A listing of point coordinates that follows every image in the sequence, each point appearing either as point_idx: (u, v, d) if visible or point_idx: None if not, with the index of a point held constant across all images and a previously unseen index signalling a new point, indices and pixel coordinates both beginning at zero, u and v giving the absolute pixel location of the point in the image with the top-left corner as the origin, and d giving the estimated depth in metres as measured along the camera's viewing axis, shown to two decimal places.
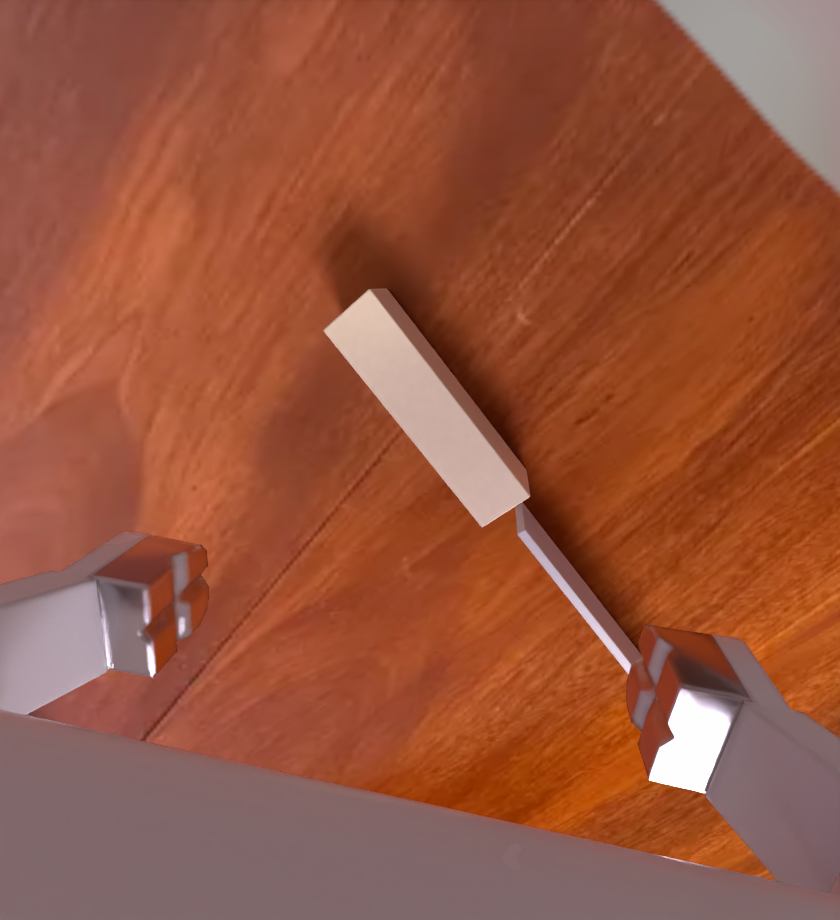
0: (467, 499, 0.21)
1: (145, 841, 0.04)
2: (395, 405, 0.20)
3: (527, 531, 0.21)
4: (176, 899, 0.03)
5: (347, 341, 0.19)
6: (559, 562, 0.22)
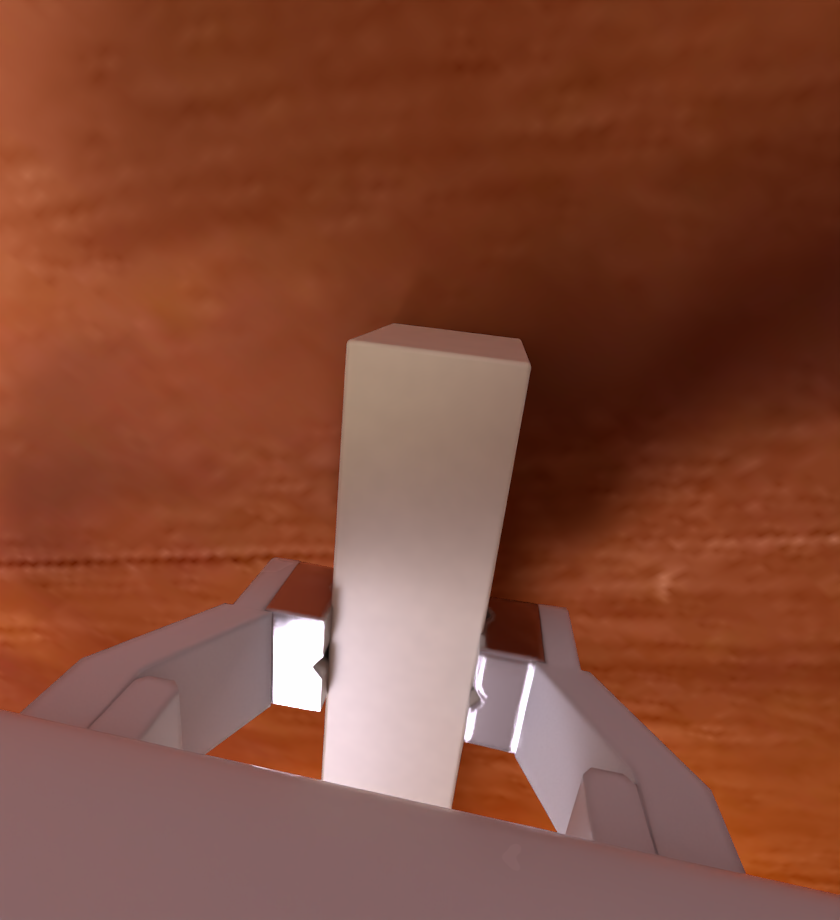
0: None
1: (145, 841, 0.04)
2: (355, 599, 0.08)
3: None
4: (176, 899, 0.03)
5: (377, 413, 0.07)
6: None
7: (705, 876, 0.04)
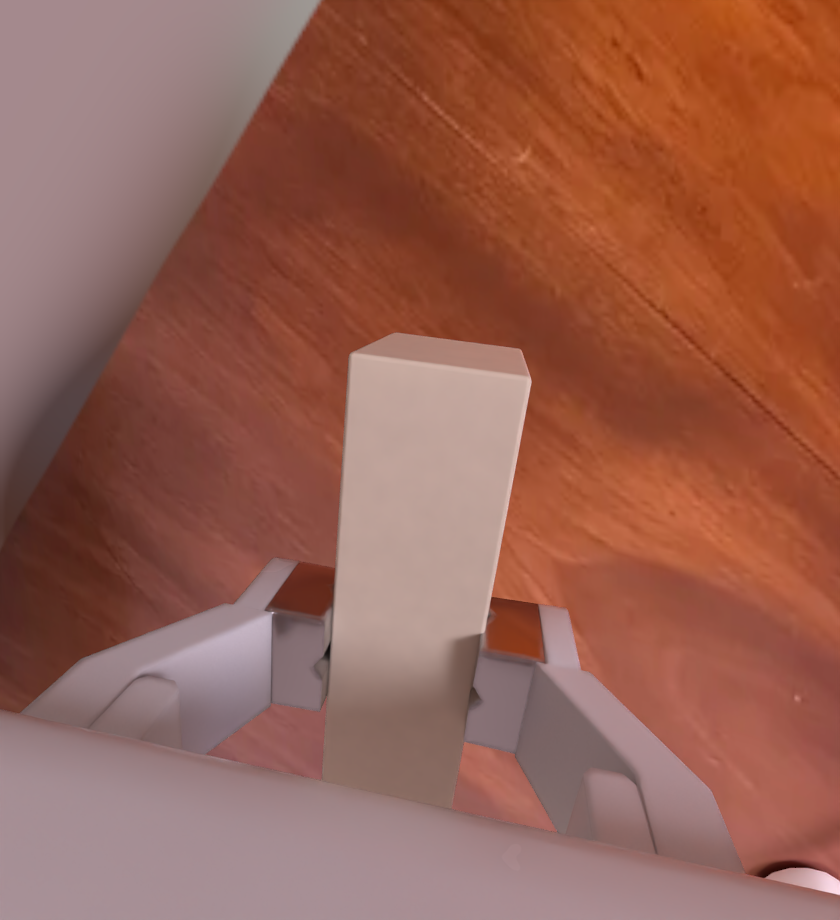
0: None
1: (145, 841, 0.04)
2: (356, 608, 0.08)
3: None
4: (176, 899, 0.03)
5: (378, 424, 0.07)
6: None
7: (705, 876, 0.04)
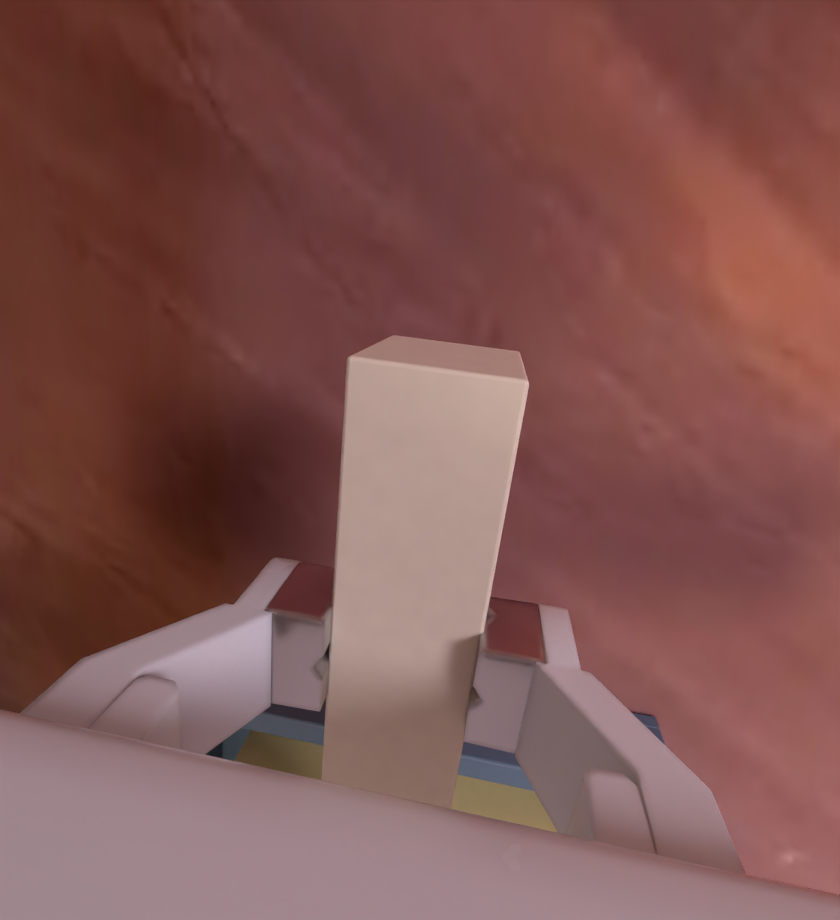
0: None
1: (145, 841, 0.04)
2: (355, 610, 0.08)
3: None
4: (176, 899, 0.03)
5: (377, 428, 0.07)
6: None
7: (705, 876, 0.04)
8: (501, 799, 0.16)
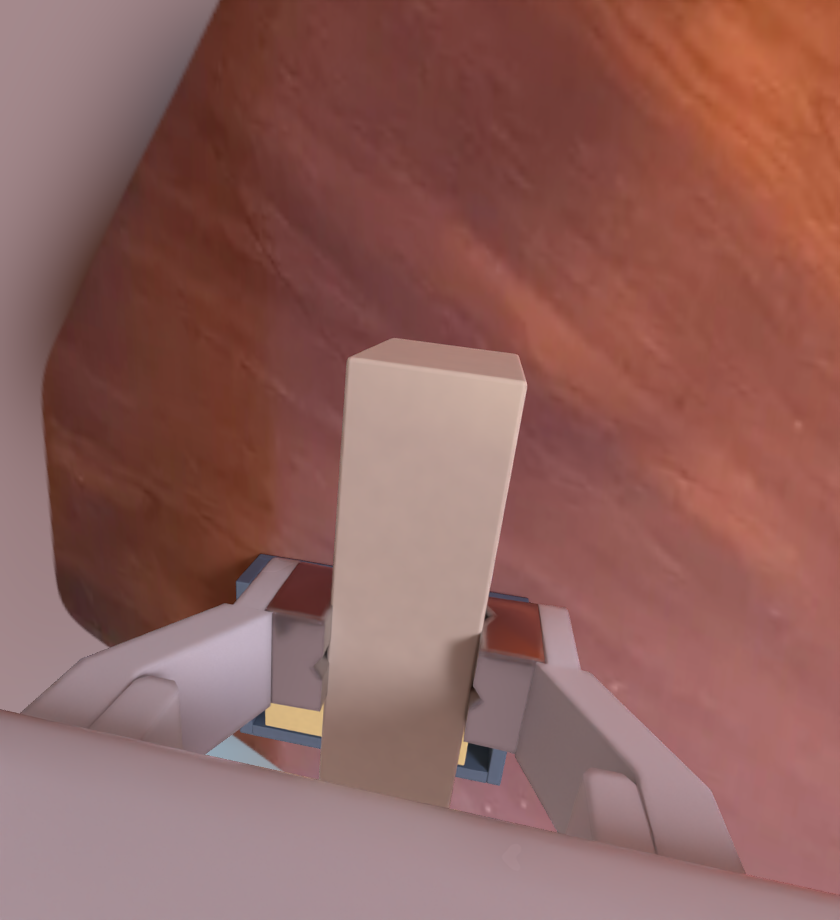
0: None
1: (145, 841, 0.04)
2: (353, 611, 0.08)
3: None
4: (176, 899, 0.03)
5: (376, 428, 0.07)
6: None
7: (705, 876, 0.04)
8: None
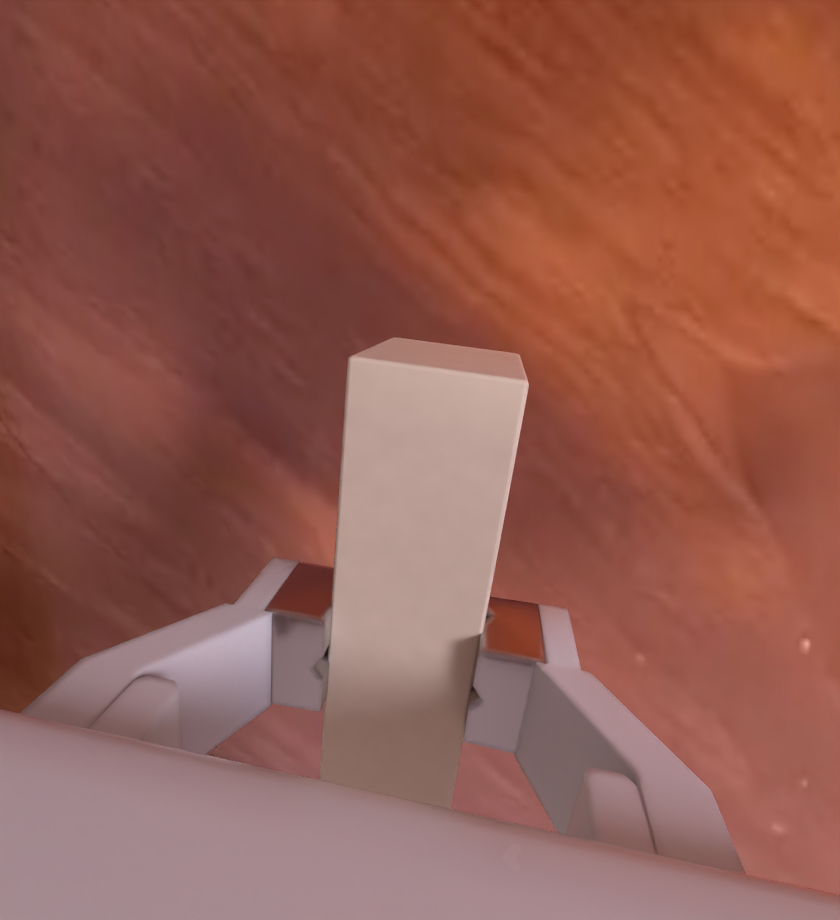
0: None
1: (145, 841, 0.04)
2: (354, 610, 0.08)
3: None
4: (176, 899, 0.03)
5: (377, 427, 0.07)
6: None
7: (705, 876, 0.04)
8: None
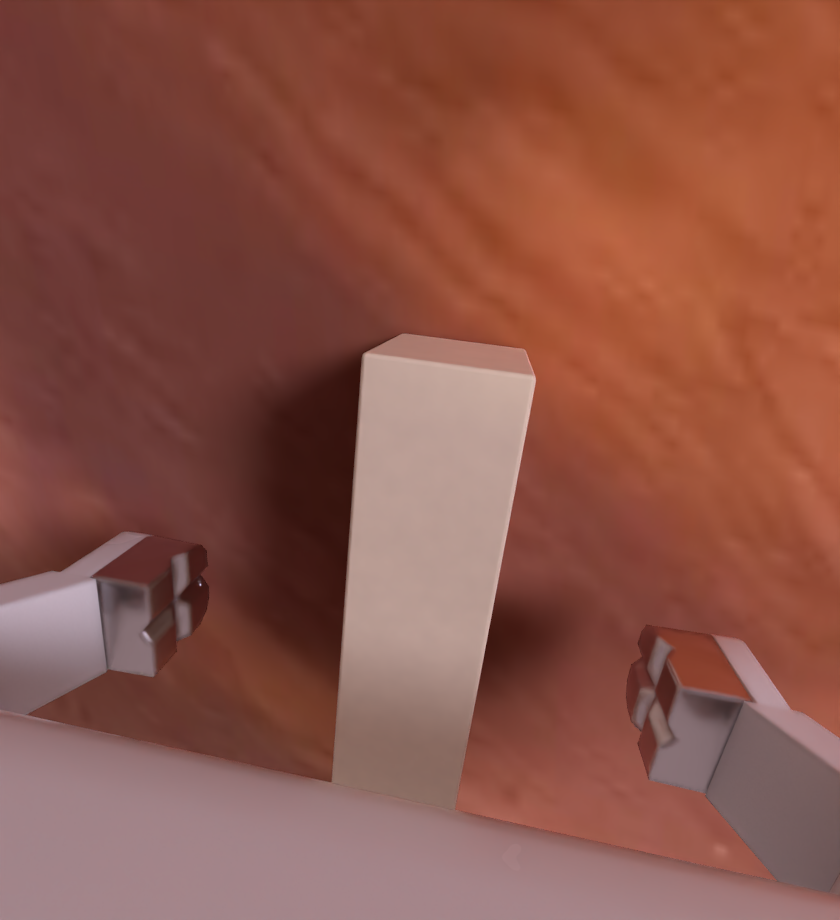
0: None
1: (145, 841, 0.04)
2: (367, 597, 0.08)
3: None
4: (176, 899, 0.03)
5: (390, 421, 0.07)
6: None
7: (705, 876, 0.04)
8: None
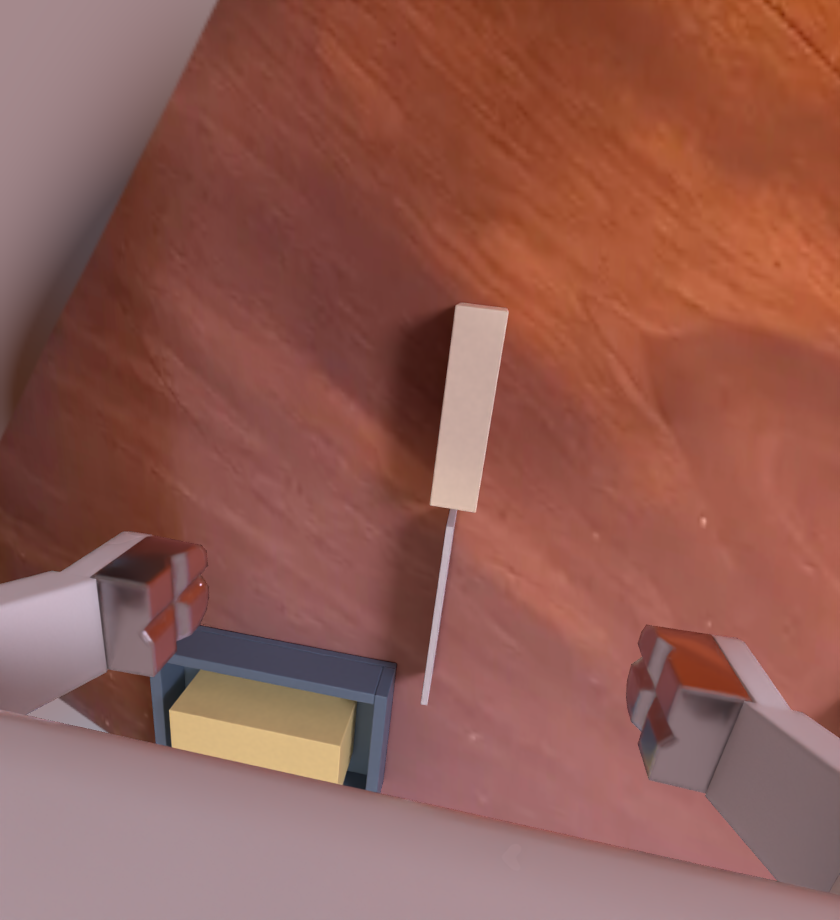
0: (438, 482, 0.26)
1: (145, 841, 0.04)
2: (452, 390, 0.24)
3: (453, 529, 0.27)
4: (176, 899, 0.03)
5: (463, 326, 0.23)
6: None
7: (705, 876, 0.04)
8: (319, 702, 0.34)
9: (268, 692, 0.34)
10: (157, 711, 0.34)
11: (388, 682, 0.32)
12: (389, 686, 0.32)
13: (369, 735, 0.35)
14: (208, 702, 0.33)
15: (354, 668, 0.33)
